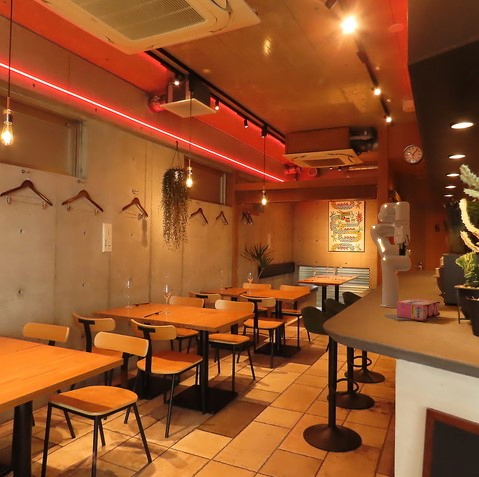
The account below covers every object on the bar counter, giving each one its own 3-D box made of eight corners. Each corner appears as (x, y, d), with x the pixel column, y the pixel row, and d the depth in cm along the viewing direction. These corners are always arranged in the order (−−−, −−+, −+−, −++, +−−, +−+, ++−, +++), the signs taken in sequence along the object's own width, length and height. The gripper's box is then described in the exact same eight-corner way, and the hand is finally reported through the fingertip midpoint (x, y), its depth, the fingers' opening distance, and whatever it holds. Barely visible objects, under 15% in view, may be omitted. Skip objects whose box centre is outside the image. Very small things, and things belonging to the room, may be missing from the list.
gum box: (415, 298, 228) (441, 300, 219) (415, 312, 228) (441, 315, 218) (396, 301, 211) (423, 304, 202) (396, 317, 211) (423, 321, 202)
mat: (384, 316, 219) (384, 314, 219) (426, 315, 222) (426, 314, 222) (397, 321, 205) (397, 319, 205) (442, 320, 208) (442, 318, 208)
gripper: (389, 224, 241) (389, 255, 241) (403, 222, 226) (403, 256, 226) (401, 224, 242) (401, 255, 242) (415, 223, 227) (415, 256, 227)
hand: (402, 255), depth 234 cm, fingers closed
